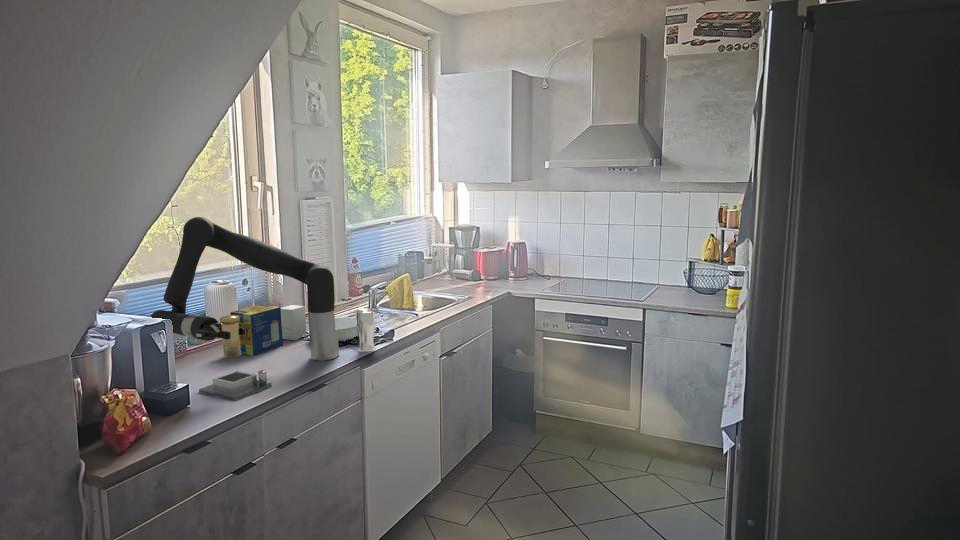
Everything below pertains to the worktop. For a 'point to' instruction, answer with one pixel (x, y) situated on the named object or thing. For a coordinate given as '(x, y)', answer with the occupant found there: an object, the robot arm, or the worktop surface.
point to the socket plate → (237, 385)
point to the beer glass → (365, 329)
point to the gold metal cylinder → (231, 335)
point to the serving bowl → (346, 328)
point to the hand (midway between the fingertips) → (236, 333)
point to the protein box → (260, 329)
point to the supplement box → (293, 322)
